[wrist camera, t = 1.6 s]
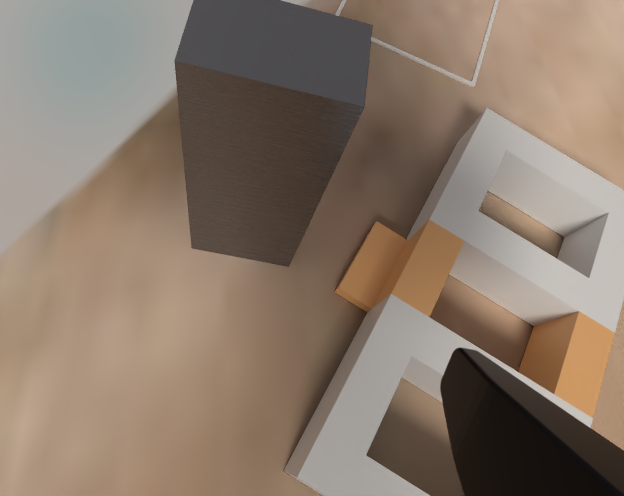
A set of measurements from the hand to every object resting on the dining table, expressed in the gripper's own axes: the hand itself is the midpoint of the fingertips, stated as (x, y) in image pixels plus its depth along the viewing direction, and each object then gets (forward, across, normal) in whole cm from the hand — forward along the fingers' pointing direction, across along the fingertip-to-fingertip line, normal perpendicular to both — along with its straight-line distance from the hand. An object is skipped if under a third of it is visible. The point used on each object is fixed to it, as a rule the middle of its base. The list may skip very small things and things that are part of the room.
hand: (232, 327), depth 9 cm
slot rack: (+13, -11, +6) cm, 19 cm away
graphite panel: (+15, 0, +4) cm, 16 cm away
